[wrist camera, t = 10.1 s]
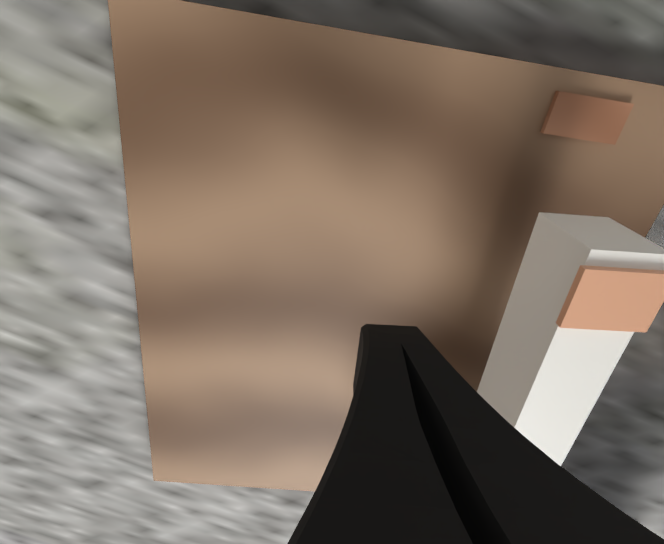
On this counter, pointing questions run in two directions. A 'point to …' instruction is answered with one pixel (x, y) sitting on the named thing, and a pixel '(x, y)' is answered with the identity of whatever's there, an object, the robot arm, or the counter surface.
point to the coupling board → (337, 214)
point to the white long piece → (569, 324)
